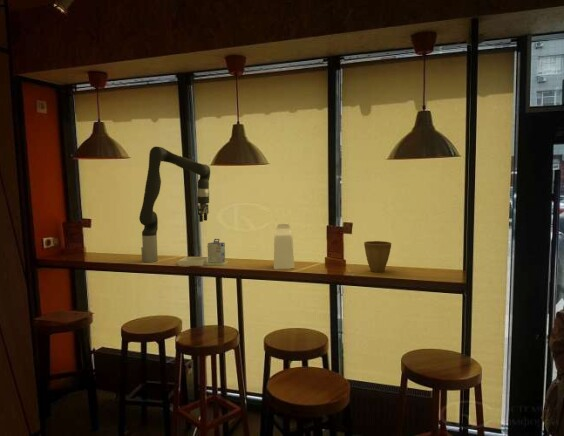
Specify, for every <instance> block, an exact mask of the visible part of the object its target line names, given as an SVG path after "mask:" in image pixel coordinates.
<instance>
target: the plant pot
mask: <svg viewBox="0 0 564 436" xmlns="http://www.w3.org/2000/svg"><path fill="white" fill-rule="evenodd" d="M363 247H364V251H365V256H366V261H367V263H368V267H369V270H370V271H371V272H373V273H382V272H385V269H386V267H387V264H388V261H389V257H390V254H391V248H392V242H389V241H382V240H371V241H370V240H369V241H364V242H363Z"/></svg>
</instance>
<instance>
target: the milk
mask: <svg viewBox="0 0 564 436" xmlns="http://www.w3.org/2000/svg"><path fill="white" fill-rule="evenodd" d="M273 239H274V243H273V246H274V247H273V269H274V270H291V269H290V268H294V269H295V256H294V254H295V253H294V239H293V232H292V229H291V226H290V224H289V223H278V224H277V227H276V229H275V233H274V238H273Z"/></svg>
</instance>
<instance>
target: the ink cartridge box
mask: <svg viewBox="0 0 564 436" xmlns="http://www.w3.org/2000/svg"><path fill="white" fill-rule="evenodd" d="M220 240H221V239H220V238H214V240H213V242H208V243H207V257H208V262H216V263H222V262H225V261H226V248H225V247H226V246H225V245H226V244H225V243H226V242H220Z"/></svg>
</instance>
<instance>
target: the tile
mask: <svg viewBox="0 0 564 436" xmlns="http://www.w3.org/2000/svg"><path fill="white" fill-rule="evenodd" d="M227 262H228V263H229V261H228V260H225V262H222V263H216V262H207V263H205V264H204V266H225V265H227V264H228V263H227Z"/></svg>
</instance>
